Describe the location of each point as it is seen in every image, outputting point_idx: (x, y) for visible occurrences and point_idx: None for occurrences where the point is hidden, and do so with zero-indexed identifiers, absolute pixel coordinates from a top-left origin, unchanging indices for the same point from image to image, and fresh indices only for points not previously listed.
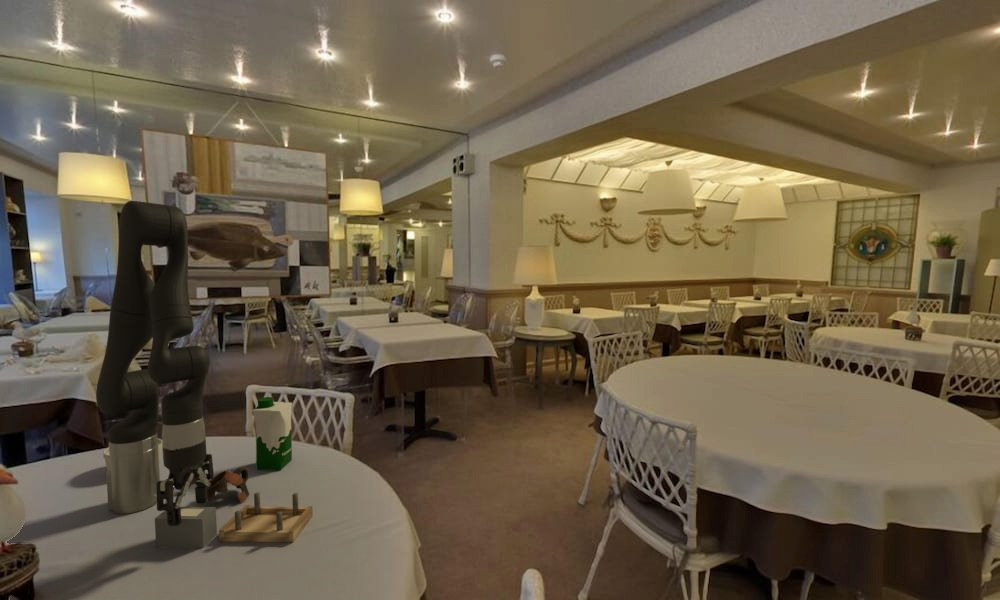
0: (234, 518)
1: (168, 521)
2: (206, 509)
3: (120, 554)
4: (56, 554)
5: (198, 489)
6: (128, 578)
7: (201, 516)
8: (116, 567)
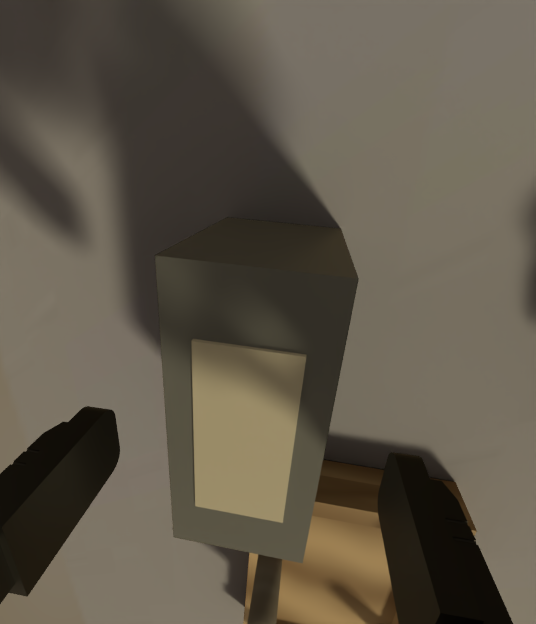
0: (347, 517)
1: (36, 447)
2: (279, 531)
3: (160, 46)
4: None
5: (423, 607)
6: (25, 238)
7: (200, 527)
8: (68, 120)
